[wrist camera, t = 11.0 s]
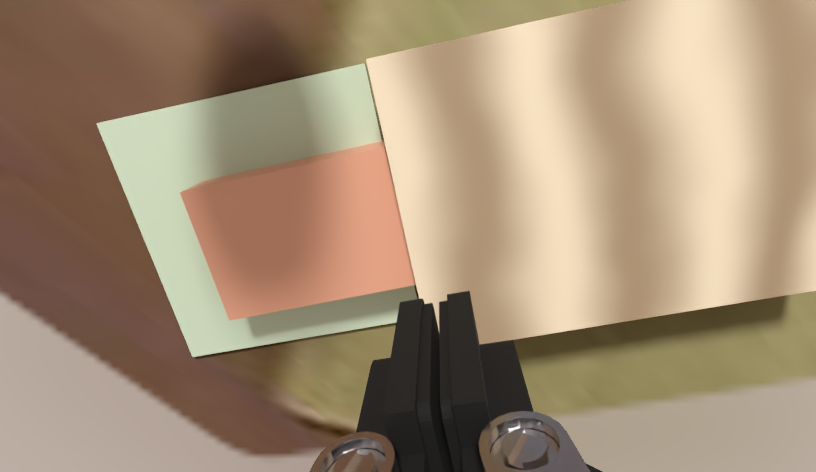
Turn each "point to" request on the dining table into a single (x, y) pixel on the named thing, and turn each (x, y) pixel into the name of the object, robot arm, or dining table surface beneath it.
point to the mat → (230, 154)
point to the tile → (302, 231)
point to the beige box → (608, 162)
